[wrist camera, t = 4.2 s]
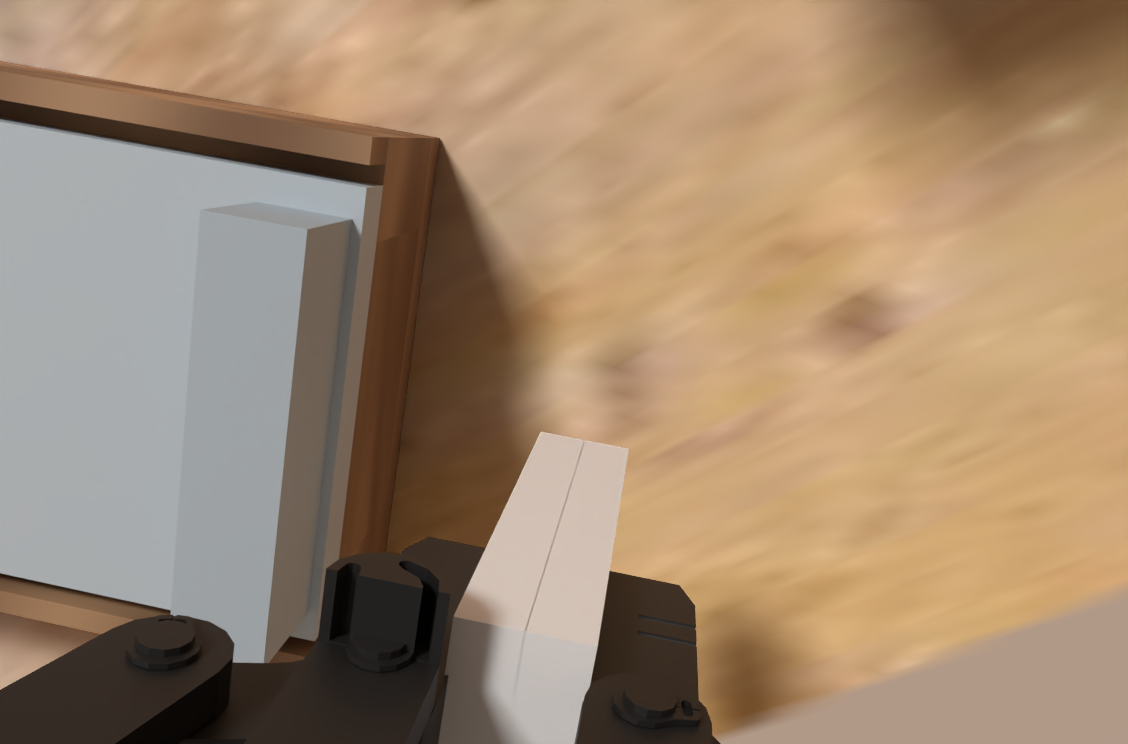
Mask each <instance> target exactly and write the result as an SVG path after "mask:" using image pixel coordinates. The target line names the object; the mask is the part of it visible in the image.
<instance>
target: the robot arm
mask: <svg viewBox="0 0 1128 744" xmlns="http://www.w3.org/2000/svg"><path fill="white" fill-rule="evenodd" d="M628 451H629V449H628V448H623V447H618V446H613V445H607V444H602V443H597V442H592V441H587V440H582V439H577V438H572V437H566V436H561V435H556V434H551V433H546V432H540V434H539V436H538V438H537V441H536V443H535V445H534V447H533V449H532V451H531V453H530V455H529V457H528V460H527V462H526V464H525V466H524V468H523V470H522V472H521V474H520V477H519V479H518V481H517V483H516V485H515V487H514V489H513V491H512V494H511V496H510V498H509V500H508V502H507V504H506V506H505V508H504V510H503V513H502V515H501V517H500V519H499V521H498V523H497V525H496V527H495V530H494V532H493V534H492V536H491V538H490V540H489V542H488V544H487V547H486V548H481V547H476V546H471V545H466V544H461V543H457V542H452V541H447V540H442V539H437V538H432V537H428V538H426V539H424V540H422V541H420V542H418V543H416V544H414V545H412V546H410V547H408V548H406V549H404V551H403V552H402V554H393V553H385V552H376V553H360V554H355V555H352V556H349V557H345V558H342V559H339V560H337V561H336V562H334V563H333V564H332V565H330V566H329V567H327V568H326V574H325V583H324V592H323V600H322V609H321V617H320V626H319V635H318V640H317V642H316V643H315V644H314V646H313V647H312V649H311V650H310V651H309V653H308V654H307V655H306V657H305V658H304V660H299V661H294V662H283V663H235V662H233V655H234V642H233V641H232V639H231V638H230V636H229V634H228V633H227V631H225V630H223V629H222V628H220V627H218V626H216V625H215V624H213V623H211V622H209V621H205V620H201V619H196V618H192V617H189V616H183V615H176V616H173V615H158V616H155V617H149V618H143V619H136V620H133V621H130V622H128V623H125V624H123V625H120V626H117V627H115V628H112V629H110V630H109V631H107V632H105V633H103V634H101V635H100V636H98V637H96V638H94V639H92V640H90V641H89V642H87V643H85V644H83V645H81V646H79V647H78V648H76V649H74V650H72V651H70V652H69V653H67V654H65V655H63V656H61V657H59V658H58V659H56V660H54V661H52V662H50V663H49V664H47V665H45V666H43V667H41V668H39V669H38V670H36V671H34V672H32V673H30V674H28V675H27V676H25V677H23V678H21V679H19V680H18V681H16V682H14V683H12V684H10V685H8V686H7V687H5V688H3V689H1V690H0V744H720V743H719V742H718V741H717V740H716V739H715V738H714V737H713V736H712V723H711V720H710V717H709V715H708V712H707V709H706V707H705V706H704V705H703V704H702V703H701V702H700V701H699V699H698V673H697V647H696V630H695V627H696V619H695V605H694V604H693V603H692V601H691V600H690V599H689V597H688V596H687V595H686V593H685V592H684V591H683V589H682V588H681V587H680V586H679V585H675V584H670V583H666V582H661V581H656V580H651V579H646V578H641V577H636V576H631V575H627V574H622V573H617V572H612V571H610V565H611V559H612V552H613V546H614V540H615V533H616V527H617V521H618V515H619V508H620V502H621V496H622V489H623V483H624V477H625V470H626V464H627V458H628Z"/></svg>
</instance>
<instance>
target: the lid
mask: <svg viewBox="0 0 1128 744" xmlns="http://www.w3.org/2000/svg"><path fill="white" fill-rule="evenodd" d="M382 191H383V185H378V184H372V183H367V182H361V181H356V180H350V179H344V178H339V177H333V176H328V175H322V174H317V173H311V172H306V171H300V170H294V169H289V168H283V167H278V166H272V165H267V164H261V163H255V162H250V161H244V160H239V159H233V158H228V157H222V156H217V155H211V154H205V153H200V152H194V151H189V150H183V149H178V148H172V147H166V146H161V145H155V144H150V143H144V142H139V141H133V140H127V139H122V138H116V137H111V136H105V135H100V134H94V133H89V132H83V131H77V130H72V129H66V128H61V127H55V126H50V125H44V124H38V123H33V122H27V121H22V120H16V119H11V118H5V117H0V573H1V574H6V575H11V576H15V577H20V578H24V579H29V580H34V581H38V582H43V583H47V584H52V585H57V586H61V587H66V588H71V589H75V590H80V591H84V592H89V593H94V594H98V595H103V596H107V597H112V598H117V599H121V600H126V601H131V602H135V603H140V604H144V605H149V606H154V607H158V608H163V609H167V610H171V615H173V616H176V615H183V616H189V617H192V618H196V619H201V620H205V621H209V622H211V623H213V624H215V625H216V626H218V627H220V628H222V629H223V630H225V631H227V633H228V634H229V636H230V638H231V639H232V641H233V642H234V655H233V662H235V663H269V662H270V660H271V659H272V658H273V657H274V655H275V654H276V653H277V652H278V650H279V649H280V648H281V647H282V645H283V644H284V643H285V642H286V640H287V639H288V638H289V636H292V637H297V638H301V639H306V640H311V641H315V640H316V639H317V638H318V635H319V626H320V617H321V609H322V600H323V592H324V583H325V574H326V568H327V567H329V566H330V565H332V564H333V563H334V562H336V561H337V560H339V553H340V544H341V536H342V528H343V519H344V511H345V502H346V494H347V486H348V477H349V469H350V460H351V452H352V444H353V435H354V427H355V418H356V410H357V402H358V393H359V385H360V376H361V368H362V359H363V351H364V343H365V334H366V326H367V317H368V309H369V301H370V292H371V284H372V275H373V267H374V259H375V250H376V242H377V233H378V225H379V216H380V208H381V200H382Z"/></svg>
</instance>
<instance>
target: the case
mask: <svg viewBox="0 0 1128 744" xmlns="http://www.w3.org/2000/svg"><path fill="white" fill-rule="evenodd" d="M0 117H5V118H11V119H16V120H22V121H27V122H33V123H38V124H44V125H50V126H55V127H61V128H66V129H72V130H77V131H83V132H89V133H94V134H100V135H105V136H111V137H116V138H122V139H127V140H133V141H139V142H144V143H150V144H155V145H161V146H166V147H172V148H178V149H183V150H189V151H194V152H200V153H205V154H211V155H217V156H222V157H228V158H233V159H239V160H244V161H250V162H255V163H261V164H267V165H272V166H278V167H283V168H289V169H294V170H300V171H306V172H311V173H317V174H322V175H328V176H333V177H339V178H344V179H350V180H356V181H361V182H367V183H372V184H378V185H383V191H382V200H381V208H380V216H379V225H378V233H377V242H376V250H375V259H374V267H373V275H372V284H371V292H370V301H369V309H368V317H367V326H366V334H365V343H364V351H363V359H362V368H361V376H360V385H359V393H358V402H357V410H356V418H355V427H354V435H353V444H352V452H351V460H350V469H349V477H348V486H347V494H346V502H345V511H344V519H343V528H342V536H341V544H340V553H339V559H342V558H345V557H349V556H352V555H355V554H360V553H376V552H386V545H387V537H388V529H389V522H390V514H391V507H392V499H393V491H394V484H395V476H396V469H397V461H398V453H399V446H400V438H401V431H402V423H403V415H404V408H405V400H406V393H407V385H408V377H409V370H410V362H411V355H412V347H413V339H414V332H415V324H416V317H417V309H418V301H419V294H420V286H421V279H422V271H423V263H424V256H425V248H426V241H427V233H428V225H429V218H430V210H431V203H432V195H433V187H434V180H435V172H436V165H437V157H438V149H439V142H440V138H436V137H430V136H424V135H418V134H413V133H407V132H401V131H396V130H390V129H384V128H379V127H373V126H367V125H361V124H356V123H350V122H344V121H339V120H333V119H327V118H321V117H316V116H310V115H304V114H299V113H293V112H287V111H281V110H276V109H270V108H264V107H259V106H253V105H247V104H242V103H236V102H230V101H224V100H219V99H213V98H207V97H202V96H196V95H190V94H184V93H179V92H173V91H167V90H162V89H156V88H150V87H145V86H139V85H133V84H127V83H122V82H116V81H110V80H105V79H99V78H93V77H87V76H82V75H76V74H70V73H65V72H59V71H53V70H47V69H42V68H36V67H30V66H25V65H19V64H13V63H8V62H2V61H0ZM0 612H2V613H6V614H11V615H15V616H20V617H25V618H29V619H34V620H38V621H43V622H47V623H52V624H56V625H61V626H65V627H70V628H75V629H79V630H84V631H88V632H93V633H97V634H103V633H105V632H107V631H109V630H110V629H112V628H115V627H117V626H120V625H123V624H125V623H128V622H130V621H133V620H136V619H143V618H149V617H155V616H158V615H171V610H167V609H163V608H158V607H154V606H149V605H144V604H140V603H135V602H131V601H126V600H121V599H117V598H112V597H107V596H103V595H98V594H94V593H89V592H84V591H80V590H75V589H71V588H66V587H61V586H57V585H52V584H47V583H43V582H38V581H34V580H29V579H24V578H20V577H15V576H11V575H6V574H1V573H0ZM317 640H318V638H317V639H316V640H315V641H311V640H306V639H301V638H297V637H292V636H289V638H288V639H287V640H286V642H285V643H284V644H283V645H282V647H281V648H280V649H279V650H278V652H277V653H276V654H275V655H274V657H273V658H272V659H271V660H270V662H269V663H283V662H294V661H299V660H304V658H305V657H306V655H307V654H308V653H309V651H310V650H311V649H312V647H313V646H314V644H315V643H316V642H317Z"/></svg>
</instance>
